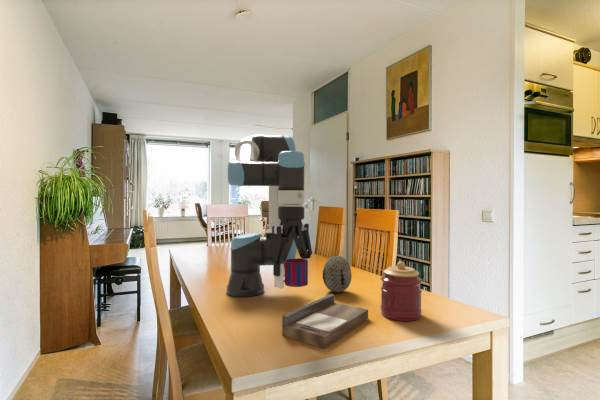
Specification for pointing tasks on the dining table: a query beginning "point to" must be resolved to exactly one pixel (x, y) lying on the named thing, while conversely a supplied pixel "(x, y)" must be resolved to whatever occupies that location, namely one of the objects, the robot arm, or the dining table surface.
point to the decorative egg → (337, 274)
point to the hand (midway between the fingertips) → (291, 283)
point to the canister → (401, 293)
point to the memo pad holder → (322, 321)
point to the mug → (296, 272)
